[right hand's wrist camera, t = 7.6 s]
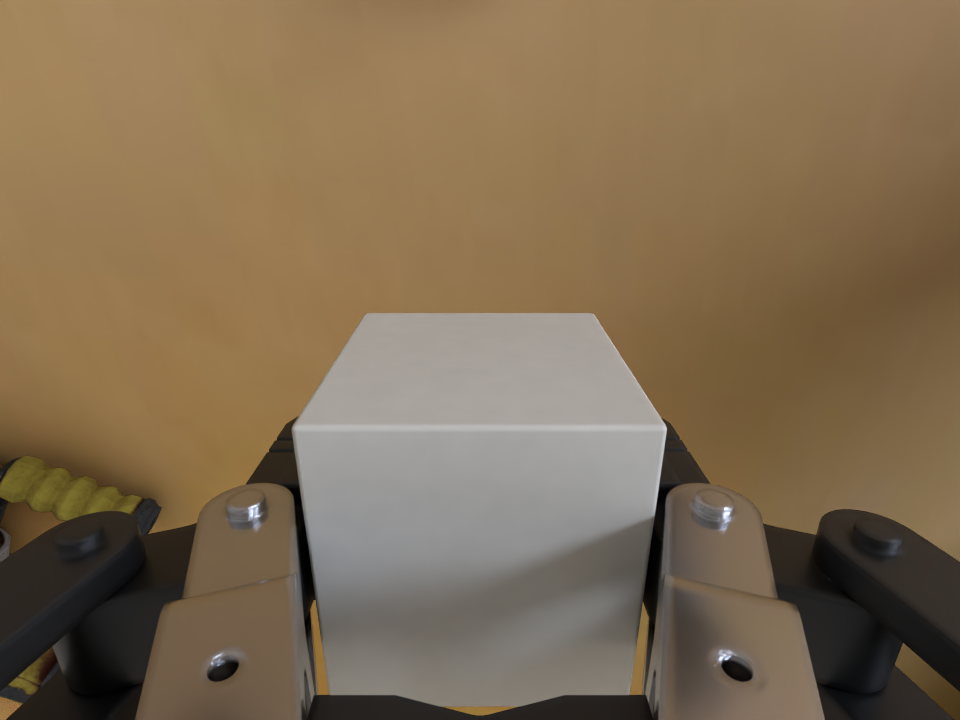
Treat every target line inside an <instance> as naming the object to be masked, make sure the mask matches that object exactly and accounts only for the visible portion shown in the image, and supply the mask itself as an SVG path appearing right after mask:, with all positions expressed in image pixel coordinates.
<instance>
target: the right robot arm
mask: <svg viewBox="0 0 960 720" xmlns="http://www.w3.org/2000/svg"><path fill="white" fill-rule="evenodd" d="M298 417H299V416H298ZM298 417H296V418H295V419H293V420H292V421H290V422H289V423H287V424H286V425H285V427H284V428H283V430H282V431H281V433H280V434H279V436H278V437H277V441H275V442H274V443H273V445H272V446H271V448H270V449H269V452H267V453H266V455H265V456H264V458H263V459H262V461H261V462H260V464H259V465H258V467H257V468H256V470H255V471H254V473H253V474H252V476H251V477H250V479H249V480H248V482H247V483H246V485H242V486H239V487H236V488H233V489H230V490H228V491H225V492H223V493H221V494H219V495H218V496H216V497H215V498H213V499H212V500H211V501H209V502H208V503H207V504H206V505H205V506H204V507H203V509H202V510H201V512H200V514H199V517H198V521H197V523H195V524H192V525H189V526H185V527H181V528H176V529H171V530H166V531H161V532H156V533H151V534H146V535H141V533H140V529H139V526H138V522H137V520H136V518H135V517H134V516H132V515H130V514H129V513H125V512H121V511H102V512H95V513H90V514H86V515H82V516H79V517H76V518H73V519H70V520H68V521H66V522H63V523H61V524H59V525H57V526H55V527H53V528H51V529H50V530H48V531H46V532H45V533H43V534H42V535H40V536H39V537H37V538H36V539H34V540H33V541H31V542H30V543H28V544H27V545H25V546H24V547H22V548H21V549H19V550H18V551H16V552H15V553H13V554H12V555H10V556H9V557H7V558H6V559H4V560H3V561H1V562H0V691H2V690H3V689H4V688H5V687H6V686H7V685H8V684H10V683H11V682H12V681H13V680H14V679H15V678H16V677H18V676H19V675H20V674H21V673H22V672H23V671H25V670H26V669H27V668H28V667H29V666H30V665H31V664H33V663H34V662H35V661H36V660H37V659H38V658H40V657H41V656H42V655H43V654H44V653H45V652H46V651H48V650H49V649H50V648H51V647H53V650H54V652H55V655H56V657H57V660H58V662H59V665H60V668H61V669H60V670H59V671H58V672H57V673H56V674H55V675H54V676H53V677H52V678H51V679H49V680H48V681H47V682H46V683H45V684H44V685H43V686H42V687H41V688H40V689H39V690H38V691H36V692H35V693H34V694H33V695H32V696H31V697H30V698H29V699H28V700H27V701H26V702H24V703H23V704H22V705H21V706H20V707H19V708H18V709H17V710H16V711H15V712H14V713H13V714H11V715H10V716H9V717H8V718H7V719H6V720H954V719H953V718H952V717H951V716H950V715H949V714H947V713H946V712H945V711H944V710H943V709H942V708H941V707H940V706H939V705H938V704H937V703H936V702H934V701H933V700H932V699H931V698H930V697H929V696H928V695H927V694H926V693H925V692H924V691H922V690H921V689H920V688H919V687H918V686H917V685H916V684H915V683H914V682H913V681H912V680H911V679H909V678H908V677H907V676H906V675H905V674H904V673H903V672H902V671H901V670H900V669H899V668H897V667H896V666H895V662H896V660H897V657H898V654H899V652H900V649H901V646H902V644H903V643H904V644H905V645H907V646H908V647H909V648H910V649H911V650H912V651H914V652H915V653H916V654H917V655H918V656H919V657H920V658H922V659H923V660H924V661H925V662H926V663H927V664H929V665H930V666H931V667H932V668H933V669H934V670H935V671H937V672H938V673H939V674H940V675H941V676H942V677H943V678H945V679H946V680H947V681H948V682H949V683H950V684H952V685H953V686H954V687H955V688H956V689H957V690H958V691H959V692H960V562H959V561H957V560H956V559H954V558H953V557H951V556H950V555H948V554H947V553H945V552H944V551H942V550H941V549H939V548H938V547H936V546H935V545H933V544H932V543H930V542H929V541H927V540H926V539H924V538H923V537H921V536H920V535H918V534H917V533H915V532H914V531H912V530H911V529H909V528H907V527H906V526H904V525H902V524H900V523H898V522H896V521H893V520H891V519H889V518H886V517H883V516H880V515H877V514H874V513H870V512H865V511H860V510H851V509H841V510H834V511H831V512H828V513H827V514H825V515H824V516H823V517H822V518H821V521H820V524H819V527H818V531H817V535H813V534H809V533H804V532H799V531H794V530H789V529H784V528H779V527H774V526H770V525H766V524H763V521H762V517H761V514H760V512H759V510H758V509H757V507H756V506H755V505H754V504H753V503H752V502H751V501H749V500H748V499H747V498H745V497H744V496H742V495H741V494H739V493H737V492H735V491H732V490H730V489H727V488H724V487H721V486H718V485H713V484H710V483H709V481H708V480H707V478H706V477H705V475H704V474H703V472H702V471H701V469H700V468H699V466H698V465H697V463H696V461H695V460H694V458H693V457H692V455H691V454H690V452H687V448H686V446H685V445H684V443H683V442H682V440H680V439H679V438H680V437H679V436H678V434H677V433H676V431H675V430H674V428H673V427H672V425H671V424H670V423H669V422H667V421H666V420H664V419H663V418H661V419H662V420H663V422H664V423H665V425H666V428H667V433H666V440H665V447H664V454H663V461H662V468H661V475H660V482H659V489H658V497H657V504H656V511H655V518H654V525H653V532H652V539H651V546H650V553H649V560H648V567H647V574H646V581H645V589H644V596H643V603H644V605H645V608H646V611H647V614H648V616H649V619H648V625H647V634H646V646H645V658H644V671H643V683H642V695H563V696H559V697H555V698H551V699H547V700H544V701H540V702H536V703H532V704H528V705H524V706H520V707H517V708H513V709H509V710H505V711H501V712H497V713H493V714H489V715H484V716H476V715H471V714H467V713H463V712H459V711H455V710H451V709H447V708H443V707H440V706H436V705H432V704H428V703H424V702H420V701H416V700H413V699H409V698H405V697H401V696H397V695H318V683H317V671H316V659H315V646H314V634H313V625H312V619H311V612H310V609H311V606H312V603H313V600H316V598H315V591H314V584H313V577H312V570H311V563H310V556H309V549H308V542H307V535H306V528H305V521H304V514H303V507H302V500H301V493H300V486H299V478H298V471H297V464H296V457H295V450H294V443H293V436H292V426H293V424H294V423H295V421H296V420H297V418H298Z"/></svg>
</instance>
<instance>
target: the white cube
mask: <svg viewBox="0 0 960 720" xmlns="http://www.w3.org/2000/svg"><path fill="white" fill-rule="evenodd" d="M666 433H667V428H666V425H665V423H664V422H663V420H662V419H661V417H660V416H659V414H658V413H657V411H656V410H655V408H654V406H653V405H652V403H651V402H650V400H649V399H648V397H647V396H646V394H645V393H644V391H643V389H642V388H641V386H640V385H639V383H638V382H637V380H636V379H635V377H634V375H633V374H632V372H631V371H630V369H629V368H628V366H627V365H626V363H625V362H624V360H623V358H622V357H621V355H620V354H619V352H618V351H617V349H616V348H615V346H614V345H613V343H612V341H611V340H610V338H609V337H608V335H607V334H606V332H605V331H604V329H603V328H602V326H601V324H600V323H599V321H598V320H597V318H596V317H595V315H594V314H592V313H367V314H365V315H364V316H363V318H362V319H361V321H360V323H359V324H358V326H357V327H356V329H355V330H354V332H353V333H352V335H351V336H350V338H349V340H348V341H347V343H346V344H345V346H344V347H343V349H342V350H341V352H340V353H339V355H338V356H337V358H336V360H335V361H334V363H333V364H332V366H331V367H330V369H329V370H328V372H327V373H326V375H325V377H324V378H323V380H322V381H321V383H320V384H319V386H318V387H317V389H316V390H315V392H314V393H313V395H312V397H311V398H310V400H309V401H308V403H307V404H306V406H305V407H304V409H303V410H302V412H301V414H300V415H299V417H298V418H297V420H296V421H295V423H294V424H293V426H292V436H293V443H294V450H295V457H296V464H297V471H298V478H299V486H300V493H301V500H302V507H303V514H304V521H305V528H306V535H307V542H308V549H309V556H310V563H311V570H312V577H313V584H314V591H315V598H316V605H317V612H318V619H319V627H320V634H321V641H322V648H323V655H324V662H325V669H326V676H327V683H328V690H329V695H397V696H401V697H405V698H409V699H413V700H416V701H420V702H424V703H428V704H432V705H436V706H440V707H496V706H524V705H528V704H532V703H536V702H540V701H544V700H547V699H551V698H555V697H559V696H563V695H630V688H631V681H632V673H633V666H634V659H635V652H636V645H637V638H638V631H639V624H640V617H641V610H642V603H643V596H644V589H645V581H646V574H647V567H648V560H649V553H650V546H651V539H652V532H653V525H654V518H655V511H656V504H657V497H658V489H659V482H660V475H661V468H662V461H663V454H664V447H665V440H666Z"/></svg>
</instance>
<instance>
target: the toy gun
mask: <svg viewBox="0 0 960 720" xmlns="http://www.w3.org/2000/svg"><path fill="white" fill-rule="evenodd" d="M8 501H9V502H11V503H15V502H26V503H27V504H28V506H29V507H30V508H31V510H33V511H38V512H51V511H52V513H53V514H54V515H55V517H56V518H57V519H58V520H63V521H68V520H70V519H73V518H76V517H79V516H82V515H86V514H90V513H95V512H102V511H121V512H125V513H129V514H130V515H132V516H134V517H135V518H136V520H137V522H138V526H139V529H140V533H141V535H146V534H148V533H149V532H150V530H151V529H152V527H153V525H154V524H155V522H156V520H157V518H158V515H159V513H160V511H161V508H162V507H160V506H158V504H157V503H156V501H155V500H153V499H150V498H149V499H145V500H144V499H143V498H142V497H138V496H135V495H127V496H123V495H122V494H121V493H120V492H119V490H118V489H117V488H116V487H113V486H111V485H109V486H101V487H100V486H98V485H97V483H96V481H95V480H94V479H92V478H90V477H87V476H81V477H74V476H73V475H72V474H71V473H70V472H68V471H67V470H65V469H64V468H50V467H49V466H48V465H47V464H46V463H45V462H44V460H42V459H38V458H35V457H31V456H27V455H26V456H24V457H22V458H17V459H14V460H12V461H11V462H9V463H8V464H7V465H5V466H4V467H3V465H0V523H1V520H2V517H3V515H4V512H5V509H6V506H7V504H8ZM10 540H11V536H10V535H9V534H7V532H5V531H4V530H3V529H2V528H1V527H0V562H1V561H3V560H4V559H6V558H7V557H9V550H10ZM60 669H61V668H60V665H59V662H58V660H57V657H56V655H55V652H54V650H53V647H51V648H50V649H49V650H48V651H46V652H45V653H44V654H43V655H42V656H41V657H40V658H38V659H37V660H36V661H35V662H34V663H33V664H31V665H30V666H29V667H28V668H27V669H26V670H25V671H23V672H22V673H21V674H20V675H19V676H18V677H16V678H15V679H14V680H13V681H12V682H11V683H10V684H8V685H7V686H6V687H5V688H4V689H3V690H2V691H0V697H3V698H7V699H9V700H12V701H14V702H17V703H20V704H23V703H24V702H26V701H27V700H28V699H29V698H30V697H31V696H32V695H33V694H34V693H35V692H36V691H38V690H39V689H40V688H41V687H42V686H43V685H44V684H45V683H46V682H47V681H48V680H49V679H51V678H52V677H53V676H54V675H55V674H56V673H57V672H58V671H59V670H60Z"/></svg>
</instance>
